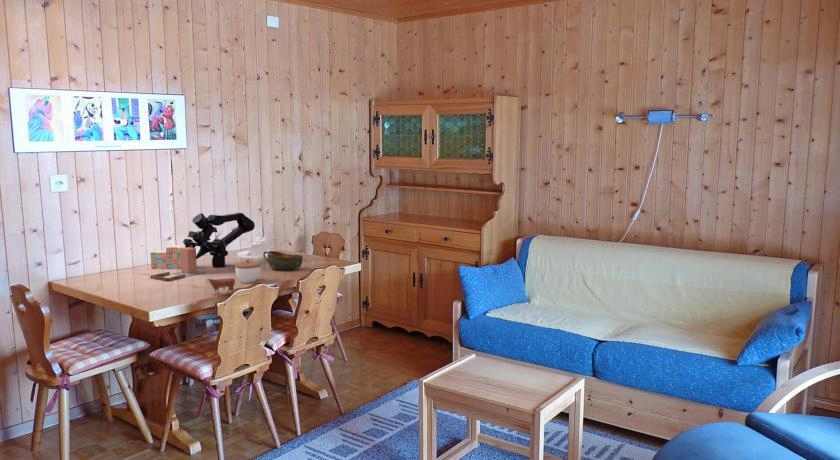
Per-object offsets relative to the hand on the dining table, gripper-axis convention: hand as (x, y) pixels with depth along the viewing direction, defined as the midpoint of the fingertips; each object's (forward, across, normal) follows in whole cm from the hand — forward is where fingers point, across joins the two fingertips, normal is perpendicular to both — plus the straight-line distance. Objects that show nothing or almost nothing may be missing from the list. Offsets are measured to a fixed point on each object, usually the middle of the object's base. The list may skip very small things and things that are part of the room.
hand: (190, 257), depth 355 cm
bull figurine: (+23, +49, -11) cm, 55 cm away
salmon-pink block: (+6, 0, +5) cm, 8 cm away
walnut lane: (+16, 0, -5) cm, 17 cm away
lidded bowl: (+5, +41, +7) cm, 42 cm away
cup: (-16, +36, +29) cm, 49 cm away
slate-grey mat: (+7, 0, +5) cm, 8 cm away
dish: (-34, -8, +48) cm, 60 cm away
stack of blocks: (+4, -19, +8) cm, 21 cm away
